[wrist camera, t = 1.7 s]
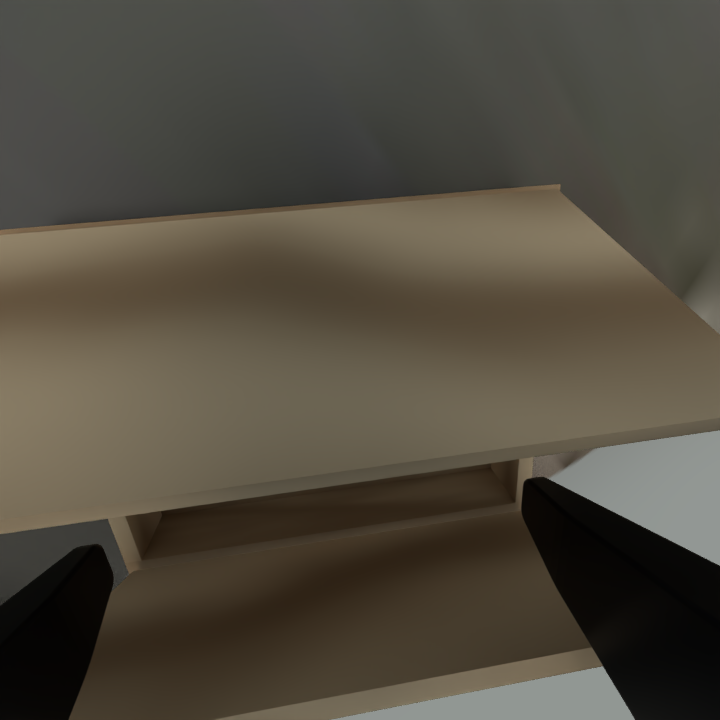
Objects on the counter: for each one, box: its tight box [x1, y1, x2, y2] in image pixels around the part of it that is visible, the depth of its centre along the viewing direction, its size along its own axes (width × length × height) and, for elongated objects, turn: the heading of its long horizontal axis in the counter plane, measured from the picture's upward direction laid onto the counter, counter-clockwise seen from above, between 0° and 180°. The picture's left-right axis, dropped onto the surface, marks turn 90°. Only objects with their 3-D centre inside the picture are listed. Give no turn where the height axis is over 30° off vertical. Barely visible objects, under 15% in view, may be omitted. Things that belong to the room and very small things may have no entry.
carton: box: [0, 184, 561, 575], centre depth 15 cm, size 13×16×3 cm
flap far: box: [69, 510, 603, 720], centre depth 12 cm, size 8×15×1 cm
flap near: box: [0, 189, 720, 534], centre depth 9 cm, size 8×15×1 cm
